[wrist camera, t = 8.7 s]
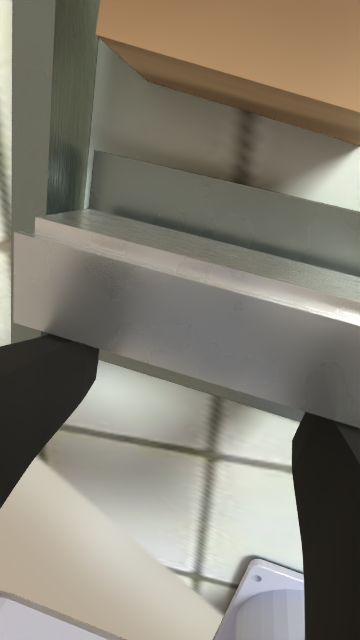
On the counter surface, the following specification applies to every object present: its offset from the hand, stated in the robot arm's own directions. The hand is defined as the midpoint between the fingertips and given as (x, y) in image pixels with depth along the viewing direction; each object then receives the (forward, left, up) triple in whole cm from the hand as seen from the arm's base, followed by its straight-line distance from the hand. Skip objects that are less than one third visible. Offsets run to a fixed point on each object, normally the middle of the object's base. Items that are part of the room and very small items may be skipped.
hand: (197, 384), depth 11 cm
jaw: (+3, 0, -2) cm, 4 cm away
